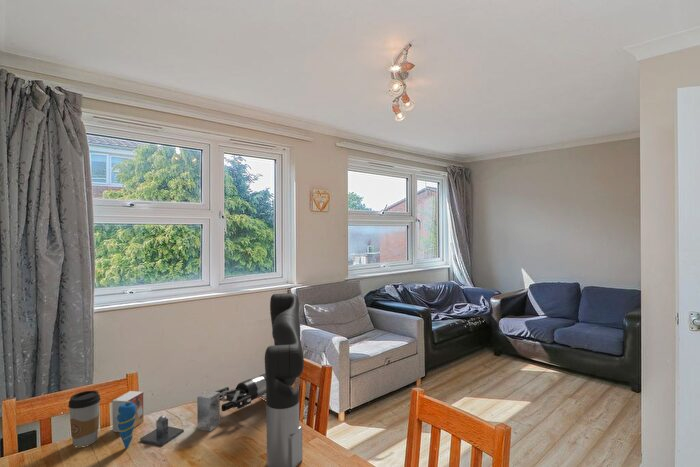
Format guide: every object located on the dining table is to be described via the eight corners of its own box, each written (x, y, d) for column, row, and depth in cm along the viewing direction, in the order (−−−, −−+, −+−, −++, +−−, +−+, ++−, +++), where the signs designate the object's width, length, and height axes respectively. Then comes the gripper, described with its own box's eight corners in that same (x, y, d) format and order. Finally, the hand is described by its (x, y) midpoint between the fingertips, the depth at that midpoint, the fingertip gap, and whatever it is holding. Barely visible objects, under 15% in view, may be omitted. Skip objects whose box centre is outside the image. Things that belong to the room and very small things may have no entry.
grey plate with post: (183, 433, 127) (183, 412, 127) (162, 447, 119) (161, 425, 119) (162, 428, 130) (162, 407, 130) (139, 442, 122) (139, 420, 122)
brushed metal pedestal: (219, 424, 132) (219, 392, 132) (209, 431, 127) (209, 398, 127) (208, 422, 134) (207, 390, 134) (197, 429, 129) (197, 396, 129)
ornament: (119, 445, 120) (118, 397, 120) (138, 441, 122) (137, 394, 121) (116, 454, 115) (115, 404, 115) (135, 450, 117) (134, 401, 116)
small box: (126, 433, 127) (126, 401, 127) (112, 431, 128) (111, 400, 128) (144, 421, 135) (143, 391, 134) (130, 420, 136) (129, 390, 136)
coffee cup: (62, 447, 119) (61, 399, 118) (87, 434, 127) (87, 388, 126) (82, 452, 116) (81, 402, 116) (107, 437, 124) (106, 391, 124)
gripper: (239, 375, 150) (202, 389, 136) (264, 383, 141) (227, 399, 128) (239, 394, 150) (202, 410, 136) (264, 403, 141) (227, 421, 128)
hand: (214, 405), depth 132 cm, fingers open, 8 cm apart
